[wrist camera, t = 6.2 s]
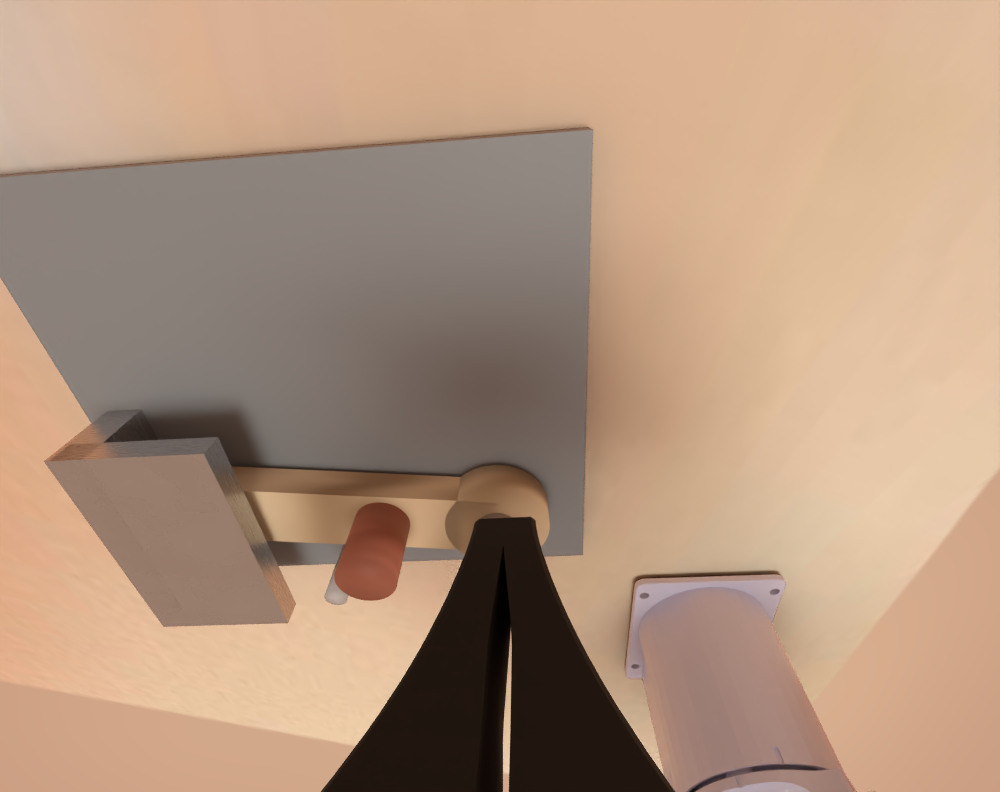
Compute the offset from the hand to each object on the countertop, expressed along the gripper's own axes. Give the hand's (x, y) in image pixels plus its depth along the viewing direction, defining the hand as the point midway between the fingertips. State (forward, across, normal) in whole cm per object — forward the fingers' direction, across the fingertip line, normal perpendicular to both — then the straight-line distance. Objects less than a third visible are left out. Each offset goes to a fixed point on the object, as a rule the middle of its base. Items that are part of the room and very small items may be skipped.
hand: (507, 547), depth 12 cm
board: (+10, +8, +1) cm, 12 cm away
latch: (+9, +6, +6) cm, 12 cm away
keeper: (+10, +14, +7) cm, 18 cm away
